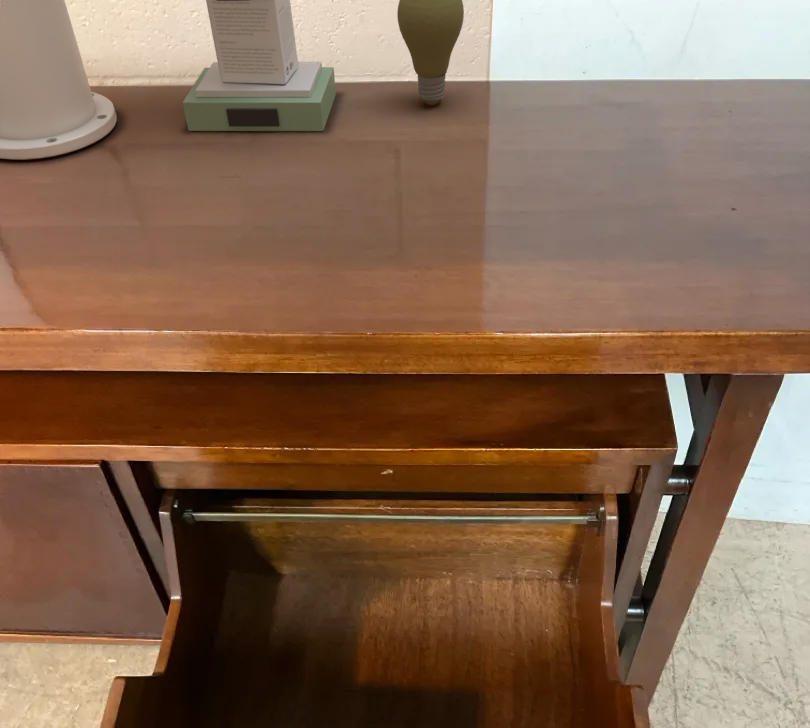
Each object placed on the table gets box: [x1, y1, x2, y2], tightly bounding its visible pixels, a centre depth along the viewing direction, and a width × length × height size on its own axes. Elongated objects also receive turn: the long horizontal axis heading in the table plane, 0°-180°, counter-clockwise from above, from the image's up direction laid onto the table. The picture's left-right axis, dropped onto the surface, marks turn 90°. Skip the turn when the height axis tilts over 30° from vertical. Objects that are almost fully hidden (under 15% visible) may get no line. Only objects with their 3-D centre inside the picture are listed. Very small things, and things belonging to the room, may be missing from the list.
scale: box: [181, 61, 337, 132], centre depth 75 cm, size 12×8×3 cm
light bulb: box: [396, 0, 465, 106], centre depth 72 cm, size 6×6×10 cm
